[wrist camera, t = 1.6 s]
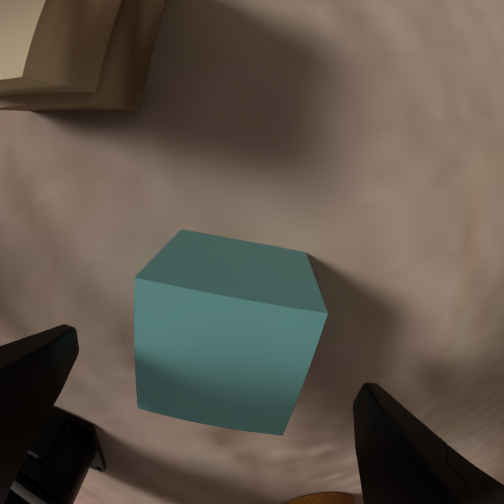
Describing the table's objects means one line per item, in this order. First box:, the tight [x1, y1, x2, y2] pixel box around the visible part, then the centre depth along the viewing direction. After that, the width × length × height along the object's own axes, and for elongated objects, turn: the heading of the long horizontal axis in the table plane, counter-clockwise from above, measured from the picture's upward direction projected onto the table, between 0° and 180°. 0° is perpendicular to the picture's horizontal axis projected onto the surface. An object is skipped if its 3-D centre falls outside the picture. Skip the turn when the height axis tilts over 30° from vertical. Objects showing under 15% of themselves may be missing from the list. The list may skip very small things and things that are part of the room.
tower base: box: [0, 0, 166, 112], centre depth 8 cm, size 6×6×4 cm
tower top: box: [0, 0, 122, 96], centre depth 5 cm, size 6×6×4 cm
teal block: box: [134, 229, 328, 435], centre depth 11 cm, size 5×5×5 cm
